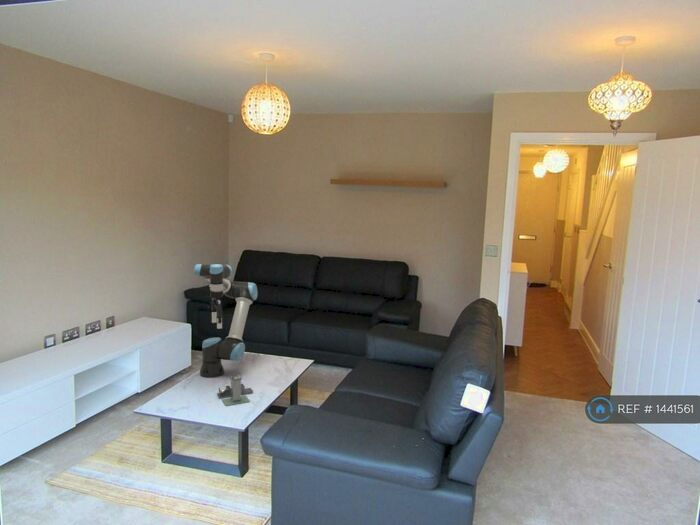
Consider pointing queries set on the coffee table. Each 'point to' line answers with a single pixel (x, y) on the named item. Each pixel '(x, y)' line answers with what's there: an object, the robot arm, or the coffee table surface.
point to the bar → (236, 388)
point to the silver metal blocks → (227, 392)
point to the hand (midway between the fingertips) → (216, 325)
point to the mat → (229, 402)
